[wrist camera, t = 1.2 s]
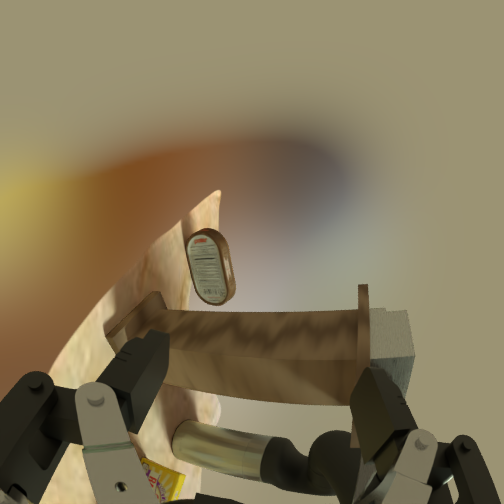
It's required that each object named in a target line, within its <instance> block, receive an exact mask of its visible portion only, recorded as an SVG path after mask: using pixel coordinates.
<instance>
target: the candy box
mask: <svg viewBox="0 0 504 504" xmlns="http://www.w3.org/2000/svg"><path fill="white" fill-rule="evenodd" d="M141 464H142V467H143V469H144V471H145V474H146V476H147V478H148V480H149V482H150V484H151V486H152V488H153V491H154V493H155V495H156V497H157V498H158V500H159V502H160V504H161V503H164V502H168V501H173V500H178V497H179V494H180V491H181V488H182V485H183V483H184V480H185V477H186V475H184V474H181V473H179V472H176V471H174V470H171V469H169V468H166V467H164V466H162V465H160V464H158V463H155V462H153V461H151V460H149V459H146V458H142V459H141Z"/></svg>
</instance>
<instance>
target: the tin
mask: <svg viewBox="0 0 504 504" xmlns="http://www.w3.org/2000/svg"><path fill="white" fill-rule="evenodd" d="M186 254H187V258H188V263H189V267H190V272H191V276H192V280H193V284H194V288H195V291H196V293H197V295H198V296H199V297H200V299H201V300H203V301H204V302H205V303H207V304H209V305H214V306H220V305H223V304H225V303H226V302H227V301H229V300H230V299H231V298H232V297H233V296H234V294H235V290H236V284H235V278H234V273H233V268H232V263H231V257H230V251H229V246H228V244H227V241H226V240H225V238H224V237H223V235H222V234H221V233H219V232H218V231H216V230H214V229H211V228H204V229H201V230H199V231H197V232H195V233H194V234H192V235H191V236H190V238H189V239H188V241H187V244H186Z"/></svg>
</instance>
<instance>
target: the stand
mask: <svg viewBox="0 0 504 504" xmlns="http://www.w3.org/2000/svg"><path fill="white" fill-rule="evenodd" d="M150 329H155V330H159V331H162V332H166V333H169V334H170V348H169V367H168V371H167V374H166V377H165V379H164V381H163V383H165V384H169V385H173V386H178V387H182V388H187V389H191V390H196V391H201V392H206V393H211V394H217V395H223V396H230V397H236V398H243V399H250V400H258V401H267V402H278V403H289V404H304V405H333V406H334V405H335V406H336V405H337V406H350V404H349V402H350V396H351V393H352V391H353V389H354V387H355V386H356V384H357V382H358V380H359V378H360V376H361V374H362V372H363V370H364V369H365V368H366V367H370V316H369V295H368V284H362V285H358V309H356V310H336V311H309V312H210V311H184V310H168V309H167V307H166V305H165V302H164V300H163V298H162V295H161V293H160V292H152V293H151V294H150V295H148V296H147V297H146V298H145V299H144V300H143V301H142V302H141V303H140V304H139V305H138V306H137V307H136V308H135V309H134V310H133V311H132V312H131V313H129V314H128V315H127V316H126V317H125V318H124V319H123V320H122V321H121V322H120V323H119V324H118V325H117V326H116V327H115V328H114V329H113V330H112V331H111V332H110V333H109V334H108V335H107V336H106V339H107V340H108V342H109V344H110V345H111V347H112V349H113V350H114V352H115V354H117V353H118V352H120V349H121V348H122V347H123V345H124V344H125V343H126V342H127V341H129V340H131V339H133V338H135V337H139V338H142V339H143V338H144V337H145V335H146V334H147V333H148V331H149V330H150ZM350 448H360V445H359V441H358V437H357V433H356V429H355V425H354V421H352V432H351V443H350Z"/></svg>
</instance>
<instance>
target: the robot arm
mask: <svg viewBox="0 0 504 504" xmlns="http://www.w3.org/2000/svg"><path fill="white" fill-rule="evenodd" d="M169 348H170V334H169V333H166V332H162V331H159V330H155V329H150V330H149V331H148V333H147V334H146V335H145V337H144V338H143V339H142V338H139V337H135V338H133V339H131V340H129V341H127V342H126V343H125V344H124V345H123V347H122V348H121V349H120V352H118V353H117V354H116V356H115V358H113V359H112V361H111V362H110V363H109V365H108V366H107V367H106V368H105V370H104V371H103V372H102V374H101V375H100V376H99V378H98V379H97V380H96V381H95V382H90V383H86V384H84V385H82V386H80V387H79V388H78V389H69V388H64V387H59V386H55V385H54V383H53V380H52V378H51V377H50V376H49V375H47V374H46V373H43V372H39V371H34V372H29V373H27V374H25V375H24V376H23V377H22V378H21V379H20V380H19V381H18V382H17V383H16V384H15V386H14V387H13V388H12V389H11V390H10V392H9V393H8V394H7V395H6V396H5V397H4V399H3V400H2V401H1V402H0V504H39V502H40V500H41V498H42V496H43V494H44V492H45V490H46V488H47V486H48V484H49V482H50V480H51V478H52V476H53V474H54V472H55V470H56V468H57V466H58V464H59V462H60V460H61V458H62V457H63V455H64V453H65V451H66V449H67V447H68V445H69V444H70V443H74V444H79V445H84V449H82V452H83V458H84V462H85V466H86V469H87V473H88V476H89V480H90V483H91V486H92V489H93V492H94V495H95V498H96V501H97V504H160V502H159V500H158V498H157V497H156V495H155V493H154V491H153V488H152V486H151V484H150V482H149V480H148V478H147V476H146V474H145V471H144V469H143V467H142V464H141V462H140V460H139V457H138V455H137V452H136V450H135V448H134V445H133V443H131V440H130V438H129V435H128V431H129V432H132V433H135V434H138V432H139V430H140V428H141V426H142V424H143V422H144V420H145V417H146V415H147V413H148V411H149V409H150V407H151V405H152V403H153V401H154V399H155V397H156V395H157V393H158V391H159V389H160V387H161V385H162V383H163V381H164V379H165V377H166V374H167V371H168V367H169ZM349 404H350V409H351V413H352V417H353V421H354V425H355V429H356V433H357V437H358V441H359V445H360V448H350V443H351V433H349V432H346V431H339V430H334V431H329V432H326V433H324V434H322V435H320V436H319V437H318V438H317V439H316V440H315V441H314V442H313V444H312V446H311V448H310V451H309V455H308V457H307V456H304V455H303V454H301V453H300V452H298V450H297V449H296V448H295V447H294V445H293V443H292V442H291V441H290V440H289V439H287V438H282V437H273V436H265V435H259V434H252V433H246V432H241V431H236V430H231V429H226V428H221V427H217V426H212V425H208V424H204V423H200V422H196V421H192V420H186V421H184V422H183V423H182V424H180V426H179V427H178V428H177V430H176V432H175V434H174V437H173V442H172V449H173V453H174V455H175V457H176V458H177V459H179V460H182V461H185V462H187V463H190V464H193V465H196V466H199V467H202V468H206V469H209V470H213V471H216V472H220V473H223V474H227V475H231V476H235V477H240V478H243V479H248V480H253V481H258V482H263V483H268V484H272V485H274V486H276V487H278V488H280V489H282V490H286V491H291V492H297V493H304V494H311V495H320V496H335V495H337V498H338V500H339V502H340V504H352V503H353V498H354V493H355V488H356V483H357V477H358V471H359V465H360V458H361V453H362V458H363V462H364V465H373V464H375V467H376V470H375V471H374V473H373V474H372V476H371V478H370V479H369V481H368V483H367V484H366V486H365V488H364V489H363V491H362V492H361V494H360V495H359V497H358V498H357V500H356V501H355V503H354V504H453V501H452V498H451V494H450V490H449V488H448V484H447V482H448V481H449V480H450V479H451V478H452V477H454V480H455V483H456V486H457V489H458V492H459V498H458V500H457V502H456V503H455V504H501V502H500V499H499V497H498V494H497V491H496V488H495V486H494V483H493V481H492V478H491V476H490V473H489V471H488V468H487V466H486V464H485V461H484V459H483V457H482V455H481V453H480V450H479V448H478V446H477V444H476V442H475V441H474V440H473V439H472V438H471V437H469V436H467V435H459V436H457V437H456V438H455V439H454V440H453V441H452V442H451V443H442V442H437V440H436V438H435V437H434V436H433V434H431V433H430V432H428V431H426V430H423V429H418V427H417V425H416V422H415V420H414V418H413V416H412V414H411V411H410V409H409V407H408V405H406V401H405V399H404V398H403V394H402V392H401V390H400V388H399V387H398V386H397V385H396V384H395V383H394V382H393V381H392V380H389V378H388V376H387V374H386V372H385V370H384V369H383V368H374V367H366V368H365V369H364V370H363V372H362V374H361V376H360V378H359V380H358V382H357V384H356V386H355V387H354V389H353V391H352V393H351V396H350V402H349ZM161 504H243V503H240V502H237V501H234V500H232V499H226V498H220V497H214V496H209V495H204V494H200V493H196V495H195V499H181V500H173V501H168V502H164V503H161Z"/></svg>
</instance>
